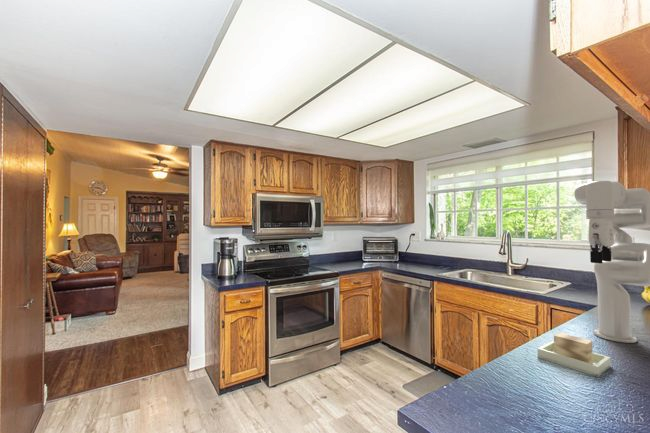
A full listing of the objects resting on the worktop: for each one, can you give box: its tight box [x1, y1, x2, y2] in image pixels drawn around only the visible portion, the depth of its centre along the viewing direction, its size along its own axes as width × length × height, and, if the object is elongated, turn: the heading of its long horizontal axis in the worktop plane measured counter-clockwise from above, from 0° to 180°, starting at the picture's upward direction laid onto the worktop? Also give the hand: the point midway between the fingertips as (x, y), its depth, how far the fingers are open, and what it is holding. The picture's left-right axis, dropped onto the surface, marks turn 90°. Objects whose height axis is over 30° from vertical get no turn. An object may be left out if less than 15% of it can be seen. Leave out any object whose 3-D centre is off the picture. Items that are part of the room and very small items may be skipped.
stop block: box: [553, 332, 593, 364], centre depth 100 cm, size 9×4×7 cm, turn 34°
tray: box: [536, 340, 612, 378], centre depth 100 cm, size 12×16×3 cm
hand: (601, 261), depth 108 cm, fingers open, 9 cm apart
